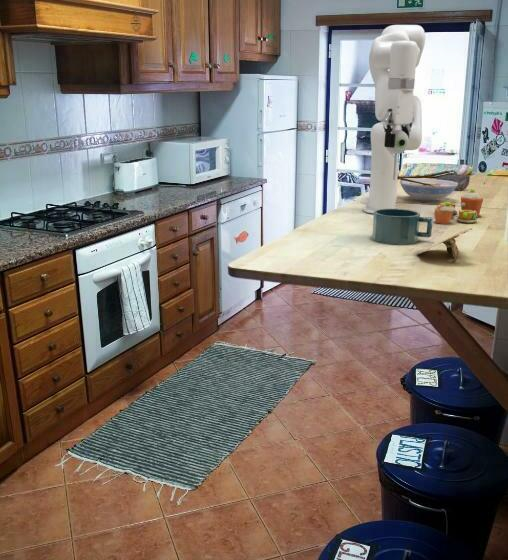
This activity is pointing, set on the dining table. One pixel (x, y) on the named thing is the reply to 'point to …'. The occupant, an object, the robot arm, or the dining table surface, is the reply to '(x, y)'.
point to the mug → (399, 226)
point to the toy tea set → (468, 211)
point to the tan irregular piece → (452, 245)
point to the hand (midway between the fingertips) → (396, 146)
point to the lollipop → (399, 146)
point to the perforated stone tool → (457, 180)
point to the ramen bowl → (427, 188)
